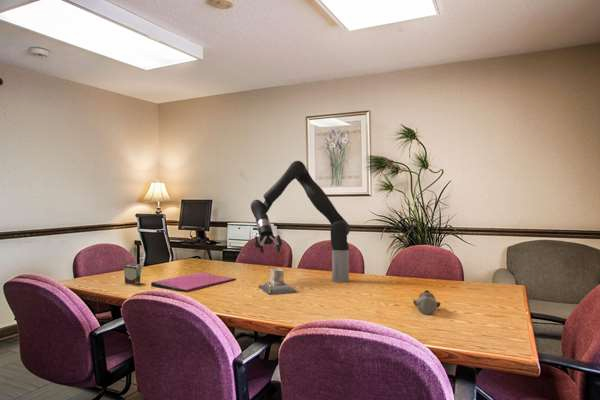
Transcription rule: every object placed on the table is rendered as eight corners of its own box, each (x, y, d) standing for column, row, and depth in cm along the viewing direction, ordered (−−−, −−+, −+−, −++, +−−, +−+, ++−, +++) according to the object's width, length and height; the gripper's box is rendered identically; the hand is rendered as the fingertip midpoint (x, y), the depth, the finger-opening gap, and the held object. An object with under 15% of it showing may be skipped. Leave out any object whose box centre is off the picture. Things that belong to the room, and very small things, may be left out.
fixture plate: (284, 285, 211) (284, 277, 211) (296, 292, 194) (296, 284, 194) (258, 287, 206) (258, 279, 206) (268, 294, 190) (268, 286, 190)
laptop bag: (201, 269, 241) (236, 275, 226) (201, 276, 241) (235, 282, 226) (144, 280, 207) (180, 287, 192) (144, 288, 207) (180, 295, 192)
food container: (147, 283, 217) (147, 265, 218) (137, 285, 212) (137, 266, 212) (133, 281, 224) (133, 263, 224) (123, 283, 219) (123, 264, 219)
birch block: (279, 285, 205) (279, 268, 205) (283, 288, 198) (283, 270, 198) (270, 286, 203) (270, 268, 203) (274, 289, 196) (274, 271, 196)
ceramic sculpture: (412, 292, 155) (413, 286, 169) (412, 314, 155) (413, 307, 169) (441, 294, 152) (440, 288, 166) (441, 317, 151) (440, 309, 166)
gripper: (253, 224, 216) (258, 248, 205) (278, 224, 221) (285, 247, 210) (250, 233, 221) (256, 257, 210) (275, 233, 226) (282, 256, 215)
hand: (270, 252), depth 210 cm, fingers open, 8 cm apart
